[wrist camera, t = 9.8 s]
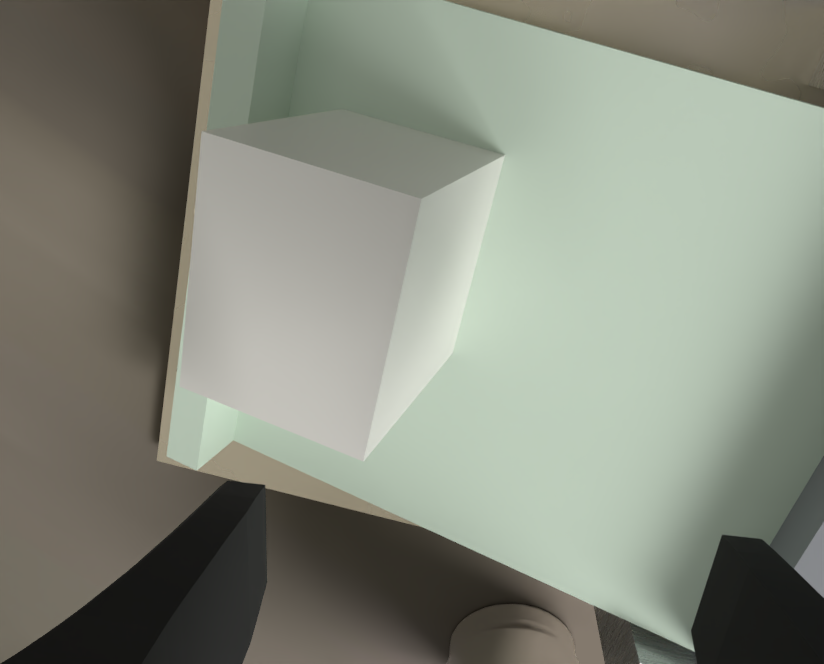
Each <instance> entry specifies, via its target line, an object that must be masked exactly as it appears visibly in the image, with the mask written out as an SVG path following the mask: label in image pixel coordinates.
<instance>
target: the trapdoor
mask: <svg viewBox="0 0 824 664" xmlns="http://www.w3.org/2000/svg"><path fill="white" fill-rule="evenodd" d="M338 109H345V110H348V111H352V112H355V113H359V114H362V115H366V116H369V117H373V118H376V119H380V120H383V121H387V122H390V123H394V124H397V125H401V126H405V127H408V128H412V129H415V130H419V131H422V132H426V133H429V134H433V135H436V136H440V137H443V138H447V139H450V140H454V141H457V142H461V143H464V144H468V145H471V146H475V147H478V148H482V149H485V150H489V151H492V152H496V153H499V154H503V155H505V157H504V160H503V164H502V168H501V172H500V176H499V179H498V183H497V187H496V191H495V195H494V198H493V202H492V206H491V210H490V213H489V217H488V221H487V225H486V229H485V232H484V236H483V240H482V244H481V248H480V251H479V255H478V259H477V263H476V267H475V270H474V274H473V278H472V282H471V285H470V289H469V293H468V297H467V301H466V304H465V308H464V312H463V316H462V320H461V323H460V327H459V331H458V335H457V339H456V342H455V346H454V350H453V353H452V355H451V356H450V357H449V358H448V359H447V361H446V362H445V363H444V364H443V366H442V367H441V368H440V369H439V370H438V372H437V373H436V374H435V375H434V376H433V378H432V379H431V380H430V381H429V383H428V384H427V385H426V386H425V387H424V389H423V390H422V391H421V392H420V394H419V395H418V396H417V397H416V398H415V400H414V401H413V402H412V403H411V404H410V406H409V407H408V408H407V409H406V411H405V412H404V413H403V414H402V415H401V417H400V418H399V419H398V420H397V421H396V423H395V424H394V425H393V426H392V428H391V429H390V430H389V431H388V432H387V434H386V435H385V436H384V437H383V438H382V440H381V441H380V442H379V443H378V445H377V446H376V447H375V448H374V449H373V451H372V452H371V453H370V454H369V456H368V457H367V458H366V459H365V460H364V462H363V461H361V460H358V459H356V458H353V457H351V456H349V455H346V454H344V453H341V452H339V451H336V450H334V449H331V448H329V447H327V446H324V445H322V444H319V443H317V442H314V441H312V440H309V439H307V438H305V437H302V436H300V435H297V434H295V433H292V432H290V431H287V430H285V429H282V428H280V427H278V426H275V425H273V424H270V423H268V422H265V421H263V420H260V419H258V418H256V417H253V416H251V415H248V414H246V413H243V412H241V411H238V410H236V409H233V408H231V407H229V406H226V405H224V404H221V403H219V402H216V401H214V400H211V399H209V398H207V397H204V396H202V395H199V394H197V393H194V392H192V391H189V390H187V389H184V388H182V387H180V375H181V363H182V352H183V340H184V329H185V317H186V306H187V294H188V285H187V293H186V301H185V310H184V318H183V326H182V334H181V342H180V350H179V358H178V366H177V375H176V383H175V391H174V399H173V407H172V415H171V423H170V431H169V440H168V448H167V457H169V458H171V459H173V460H175V461H177V462H179V463H182V464H184V465H186V466H188V467H190V468H192V469H194V470H196V471H197V470H198V469H199V468H201V467H202V466H203V465H204V464H205V463H207V462H208V461H209V460H210V459H211V458H213V457H214V456H215V455H216V454H218V453H219V452H220V451H221V450H222V449H224V448H225V447H226V446H227V445H228V444H230V443H231V442H232V441H233V440H234V441H236V442H238V443H240V444H242V445H245V446H247V447H249V448H251V449H253V450H256V451H258V452H260V453H262V454H264V455H266V456H269V457H271V458H273V459H275V460H277V461H280V462H282V463H284V464H286V465H288V466H290V467H293V468H295V469H297V470H299V471H301V472H304V473H306V474H308V475H310V476H312V477H314V478H317V479H319V480H321V481H323V482H325V483H328V484H330V485H332V486H334V487H336V488H338V489H341V490H343V491H345V492H347V493H349V494H352V495H354V496H356V497H358V498H360V499H362V500H365V501H367V502H369V503H371V504H373V505H376V506H378V507H380V508H382V509H384V510H386V511H389V512H391V513H393V514H395V515H397V516H400V517H402V518H404V519H406V520H408V521H410V522H413V523H415V524H417V525H419V526H421V527H424V528H426V529H428V530H430V531H432V532H434V533H437V534H439V535H441V536H443V537H445V538H448V539H450V540H452V541H454V542H456V543H458V544H461V545H463V546H465V547H467V548H469V549H472V550H474V551H476V552H478V553H480V554H482V555H485V556H487V557H489V558H491V559H493V560H496V561H498V562H500V563H502V564H504V565H506V566H509V567H511V568H513V569H515V570H517V571H519V572H522V573H524V574H526V575H528V576H530V577H533V578H535V579H537V580H539V581H541V582H543V583H546V584H548V585H550V586H552V587H554V588H557V589H559V590H561V591H563V592H565V593H567V594H570V595H572V596H574V597H576V598H578V599H581V600H583V601H585V602H587V603H589V604H591V605H594V606H596V607H598V608H600V609H602V610H605V611H607V612H609V613H611V614H613V615H615V616H618V617H620V618H622V619H624V620H626V621H629V622H631V623H633V624H635V625H637V626H639V627H642V628H644V629H646V630H648V631H650V632H653V633H655V634H657V635H659V636H661V637H663V638H666V639H668V640H670V641H672V642H674V643H677V644H679V645H681V646H683V647H685V648H687V649H690V650H692V651H694V652H695V650H694V645H693V639H692V634H691V629H692V626H693V623H694V620H695V617H696V613H697V610H698V607H699V604H700V601H701V598H702V595H703V592H704V589H705V586H706V583H707V580H708V576H709V573H710V570H711V567H712V564H713V561H714V558H715V555H716V552H717V549H718V546H719V542H720V539H721V536H722V535H730V536H739V537H748V538H758V539H762V540H764V541H765V542H766V543H767V544H768V545H769V546H770V547H771V548H773V549H774V550H775V551H776V552H777V553H778V554H779V555H780V556H781V557H782V558H783V559H784V560H785V561H786V562H787V563H788V564H789V565H790V566H791V567H792V568H794V569H795V570H796V571H797V572H798V573H799V574H800V575H801V576H802V577H803V578H804V579H805V580H806V581H807V582H808V583H809V584H810V585H811V586H812V587H813V588H814V589H815V590H816V591H817V592H818V593H819V594H820V595H821V596H822V597H823V598H824V107H821V106H817V105H814V104H810V103H807V102H803V101H800V100H796V99H793V98H789V97H786V96H782V95H779V94H775V93H772V92H768V91H764V90H761V89H757V88H754V87H750V86H747V85H743V84H740V83H736V82H733V81H729V80H726V79H722V78H719V77H715V76H711V75H708V74H704V73H701V72H697V71H694V70H690V69H687V68H683V67H680V66H676V65H673V64H669V63H666V62H662V61H659V60H655V59H651V58H648V57H644V56H641V55H637V54H634V53H630V52H627V51H623V50H620V49H616V48H613V47H609V46H606V45H602V44H598V43H595V42H591V41H588V40H584V39H581V38H577V37H574V36H570V35H567V34H563V33H560V32H556V31H553V30H549V29H545V28H542V27H538V26H535V25H531V24H528V23H524V22H521V21H517V20H514V19H510V18H507V17H503V16H500V15H496V14H493V13H489V12H485V11H482V10H478V9H475V8H471V7H468V6H464V5H461V4H457V3H454V2H450V1H447V0H223V1H222V9H221V17H220V25H219V33H218V41H217V50H216V58H215V66H214V74H213V82H212V90H211V98H210V106H209V115H208V123H207V130H212V129H218V128H225V127H231V126H237V125H244V124H250V123H256V122H263V121H269V120H275V119H282V118H288V117H294V116H301V115H307V114H313V113H320V112H326V111H332V110H338ZM189 271H190V269H189ZM188 283H189V277H188Z"/></svg>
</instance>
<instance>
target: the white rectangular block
mask: <svg viewBox="0 0 824 664" xmlns="http://www.w3.org/2000/svg"><path fill="white" fill-rule="evenodd" d="M504 157H505V155H503V154H499V153H496V152H492V151H489V150H485V149H482V148H478V147H475V146H471V145H468V144H464V143H461V142H457V141H454V140H450V139H447V138H443V137H440V136H436V135H433V134H429V133H426V132H422V131H419V130H415V129H412V128H408V127H405V126H401V125H397V124H394V123H390V122H387V121H383V120H380V119H376V118H373V117H369V116H366V115H362V114H359V113H355V112H352V111H348V110H345V109H338V110H332V111H326V112H320V113H313V114H307V115H301V116H294V117H288V118H282V119H275V120H269V121H263V122H256V123H250V124H244V125H237V126H231V127H225V128H218V129H212V130H206V131H202V133H201V145H200V156H199V168H198V179H197V191H196V202H195V214H194V225H193V237H192V248H191V260H190V271H189V283H188V294H187V306H186V317H185V329H184V340H183V352H182V363H181V375H180V387H182V388H184V389H187V390H189V391H192V392H194V393H197V394H199V395H202V396H204V397H207V398H209V399H211V400H214V401H216V402H219V403H221V404H224V405H226V406H229V407H231V408H233V409H236V410H238V411H241V412H243V413H246V414H248V415H251V416H253V417H256V418H258V419H260V420H263V421H265V422H268V423H270V424H273V425H275V426H278V427H280V428H282V429H285V430H287V431H290V432H292V433H295V434H297V435H300V436H302V437H305V438H307V439H309V440H312V441H314V442H317V443H319V444H322V445H324V446H327V447H329V448H331V449H334V450H336V451H339V452H341V453H344V454H346V455H349V456H351V457H353V458H356V459H358V460H361V461H363V462H364V460H365V459H366V458H367V457H368V456H369V454H370V453H371V452H372V451H373V449H374V448H375V447H376V446H377V445H378V443H379V442H380V441H381V440H382V438H383V437H384V436H385V435H386V434H387V432H388V431H389V430H390V429H391V428H392V426H393V425H394V424H395V423H396V421H397V420H398V419H399V418H400V417H401V415H402V414H403V413H404V412H405V411H406V409H407V408H408V407H409V406H410V404H411V403H412V402H413V401H414V400H415V398H416V397H417V396H418V395H419V394H420V392H421V391H422V390H423V389H424V387H425V386H426V385H427V384H428V383H429V381H430V380H431V379H432V378H433V376H434V375H435V374H436V373H437V372H438V370H439V369H440V368H441V367H442V366H443V364H444V363H445V362H446V361H447V359H448V358H449V357H450V356H451V355H452V353H453V350H454V346H455V342H456V339H457V335H458V331H459V327H460V323H461V320H462V316H463V312H464V308H465V304H466V301H467V297H468V293H469V289H470V285H471V282H472V278H473V274H474V270H475V267H476V263H477V259H478V255H479V251H480V248H481V244H482V240H483V236H484V232H485V229H486V225H487V221H488V217H489V213H490V210H491V206H492V202H493V198H494V195H495V191H496V187H497V183H498V179H499V176H500V172H501V168H502V164H503V160H504Z"/></svg>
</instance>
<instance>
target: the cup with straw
mask: <svg viewBox="0 0 824 664" xmlns="http://www.w3.org/2000/svg"><path fill="white" fill-rule="evenodd" d="M449 652H450V657H449V659H448V661H447V664H580V662H579V660H578V658H577V657H576V656H575V643H574V640H573V638H572V635H571V633H570V632H569V630H568V629H567V627H566V626H565V625H564V624H563V623H562V622H561V621H560V620H559V619H558V618H556V617H555V616H553V615H551V614H550V613H548V612H546V611H544V610H541V609H539V608H536V607H532V606H528V605H523V604H498V605H493V606H488V607H485V608H483V609H480V610H477V611H475V612H473V613H472V614H470V615H469V616H467V617H466V618H465V619H463V620H462V621H461V622H460V623H459V624H458V626H457V627H456V628H455V630H454V631H453V634H452V636H451V639H450V647H449Z"/></svg>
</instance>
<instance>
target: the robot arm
mask: <svg viewBox="0 0 824 664" xmlns="http://www.w3.org/2000/svg"><path fill="white" fill-rule="evenodd" d="M266 583H267V562H266V495H265V485H263V484H254V483H244V482H235V481H227V482H226V483H224V484H223V485H222V486H220V487H219V488H218V489H217V490H216V491H215V492H214V493H213V494H212V495H211V496H210V497H209V498H208V499H207V500H206V501H205V502H204V503H203V504H202V505H201V506H199V507H198V508H197V509H196V510H195V511H194V512H193V513H192V514H191V515H190V516H189V517H188V518H187V519H186V520H185V521H184V522H182V523H181V524H180V525H179V526H178V527H177V528H176V529H175V530H174V531H173V532H172V533H171V534H170V535H168V536H167V537H166V538H165V539H164V540H163V541H162V542H161V543H159V544H158V545H157V546H156V547H155V548H154V549H153V550H151V551H150V552H149V553H148V554H147V555H146V556H145V557H144V558H142V559H141V560H140V561H139V562H138V563H137V564H136V565H134V566H133V567H132V568H131V569H130V570H128V571H127V572H126V573H125V574H124V575H122V576H121V577H120V578H119V579H117V580H116V581H115V582H114V583H112V584H111V585H110V586H109V587H107V588H106V589H105V590H104V591H102V592H101V593H100V594H99V595H97V596H96V597H95V598H94V599H92V600H91V601H90V602H89V603H87V604H86V605H85V606H83V607H82V608H81V609H79V610H78V611H77V612H75V613H74V614H73V615H71V616H70V617H69V618H67V619H66V620H65V621H63V622H62V623H60V624H59V625H58V626H56V627H55V628H53V629H52V630H51V631H49V632H48V633H46V634H45V635H43V636H42V637H41V638H39V639H38V640H36V641H35V642H33V643H32V644H30V645H29V646H27V647H26V648H24V649H23V650H21V651H20V652H18V653H17V654H15V655H14V656H12V657H11V658H9V659H7V660H6V661H4V662H2V663H1V664H242V663H243V660H244V658H245V655H246V653H247V650H248V648H249V645H250V642H251V639H252V635H253V632H254V628H255V625H256V621H257V617H258V614H259V610H260V606H261V602H262V599H263V595H264V591H265V587H266ZM691 634H692V639H693V645H694V650H695V655H696V660H697V664H824V598H823V597H822V596H821V595H820V594H819V593H818V592H817V591H816V590H815V589H814V588H813V587H812V586H811V585H810V584H809V583H808V582H807V581H806V580H805V579H804V578H803V577H802V576H801V575H800V574H799V573H798V572H797V571H796V570H795V569H794V568H792V567H791V566H790V565H789V564H788V563H787V562H786V561H785V560H784V559H783V558H782V557H781V556H780V555H779V554H778V553H777V552H776V551H775V550H774V549H773V548H771V547H770V546H769V545H768V544H767V543H766V542H765V541H764V540H762V539H758V538H748V537H739V536H730V535H722V536H721V539H720V542H719V546H718V549H717V552H716V555H715V558H714V561H713V564H712V567H711V570H710V573H709V576H708V580H707V583H706V586H705V589H704V592H703V595H702V598H701V601H700V604H699V607H698V610H697V613H696V617H695V620H694V623H693V626H692V629H691Z"/></svg>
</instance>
